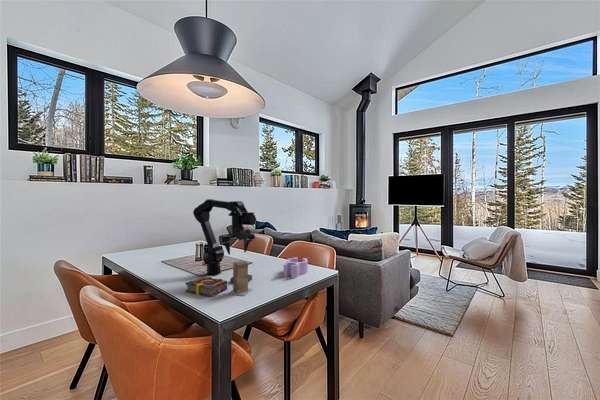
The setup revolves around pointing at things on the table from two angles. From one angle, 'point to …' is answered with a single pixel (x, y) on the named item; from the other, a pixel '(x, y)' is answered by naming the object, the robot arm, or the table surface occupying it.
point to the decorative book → (206, 286)
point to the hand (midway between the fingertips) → (237, 253)
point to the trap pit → (248, 278)
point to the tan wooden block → (240, 276)
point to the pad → (240, 293)
